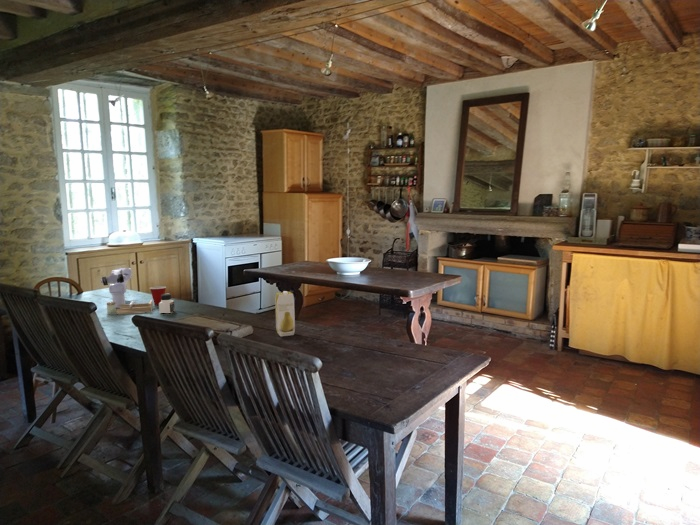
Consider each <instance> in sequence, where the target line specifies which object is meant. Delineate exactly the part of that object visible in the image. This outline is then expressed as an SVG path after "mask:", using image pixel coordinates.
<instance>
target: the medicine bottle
mask: <svg viewBox="0 0 700 525" xmlns="http://www.w3.org/2000/svg"><path fill="white" fill-rule="evenodd" d="M161 301H162V302H160V303H159V305H158V312H159V314H160V313H171V314H172V313H174V312H175V300H173V299H172V294H170V293H165V294H162V295H161ZM173 311H174V312H173Z"/></svg>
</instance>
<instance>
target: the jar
mask: <svg viewBox="0 0 700 525" xmlns="http://www.w3.org/2000/svg"><path fill="white" fill-rule="evenodd" d="M116 309H117V308H116V304H115V302H113V301H110V302H106V310H107V315H108V314H112V315H115V313H116V314H117V310H116Z"/></svg>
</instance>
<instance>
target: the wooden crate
mask: <svg viewBox="0 0 700 525" xmlns="http://www.w3.org/2000/svg"><path fill="white" fill-rule="evenodd" d="M129 304H130V303H125V305H119V307H120V308H116V315H117V314H118V315H131V314H132V315H133V314H142V313H143V314H146V313H145V312H147V313H152V311H153V308H154V301H153V299H150V300H149V302H142V303H134V308H130V307H129ZM118 315H117V316H118Z"/></svg>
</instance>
